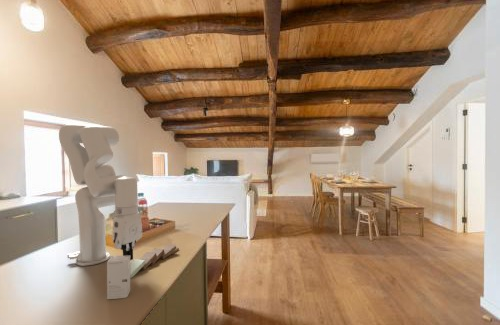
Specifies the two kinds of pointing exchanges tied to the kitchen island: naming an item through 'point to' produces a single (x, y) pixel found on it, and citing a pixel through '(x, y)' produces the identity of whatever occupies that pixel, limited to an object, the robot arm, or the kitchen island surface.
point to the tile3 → (167, 250)
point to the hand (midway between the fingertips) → (128, 259)
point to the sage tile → (136, 266)
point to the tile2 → (158, 253)
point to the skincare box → (118, 277)
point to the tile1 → (148, 259)
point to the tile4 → (174, 251)
